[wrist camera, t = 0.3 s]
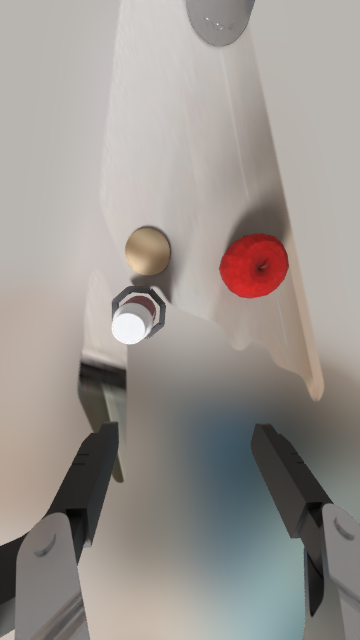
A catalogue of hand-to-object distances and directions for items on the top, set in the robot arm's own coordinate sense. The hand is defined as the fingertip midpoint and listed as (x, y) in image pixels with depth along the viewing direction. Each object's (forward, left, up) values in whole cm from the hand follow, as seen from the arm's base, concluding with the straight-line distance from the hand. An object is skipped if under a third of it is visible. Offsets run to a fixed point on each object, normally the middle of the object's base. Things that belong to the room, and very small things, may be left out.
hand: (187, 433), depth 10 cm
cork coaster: (-12, -6, -26) cm, 29 cm away
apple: (-11, +11, -26) cm, 31 cm away
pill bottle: (-1, -7, -26) cm, 27 cm away
